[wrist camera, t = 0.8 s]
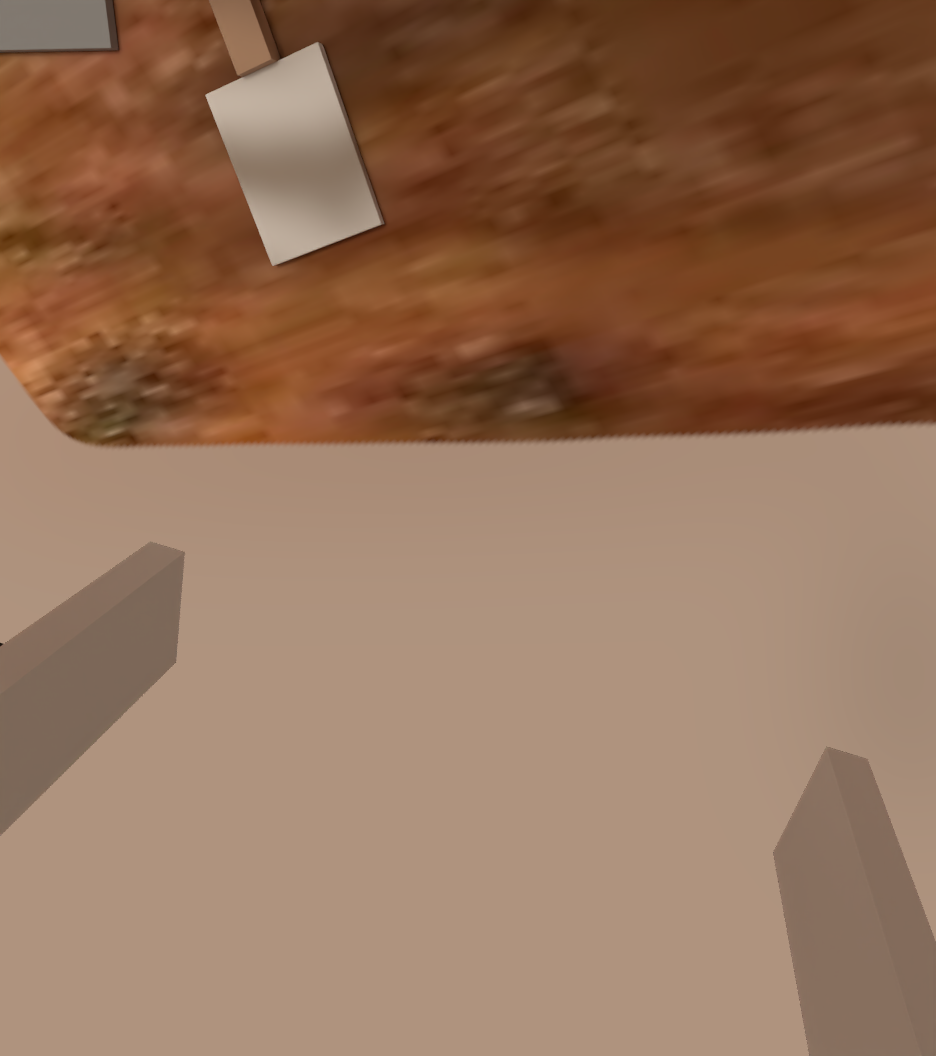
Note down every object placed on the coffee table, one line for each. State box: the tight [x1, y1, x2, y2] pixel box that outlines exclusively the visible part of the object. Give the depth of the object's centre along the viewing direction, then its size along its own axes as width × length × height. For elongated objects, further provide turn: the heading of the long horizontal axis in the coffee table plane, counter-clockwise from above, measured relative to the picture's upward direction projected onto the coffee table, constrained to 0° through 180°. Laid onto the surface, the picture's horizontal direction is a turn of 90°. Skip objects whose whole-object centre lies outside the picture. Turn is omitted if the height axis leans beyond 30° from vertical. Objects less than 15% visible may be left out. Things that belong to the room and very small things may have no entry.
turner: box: [205, 0, 384, 266], centre depth 37 cm, size 18×6×1 cm, turn 19°
